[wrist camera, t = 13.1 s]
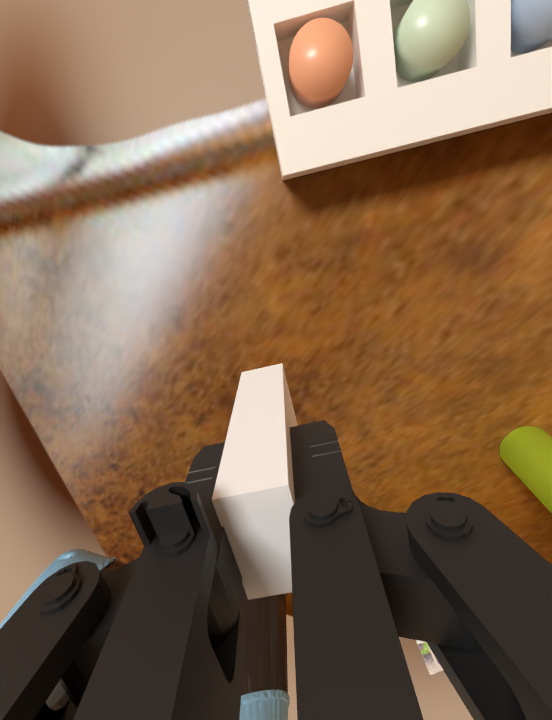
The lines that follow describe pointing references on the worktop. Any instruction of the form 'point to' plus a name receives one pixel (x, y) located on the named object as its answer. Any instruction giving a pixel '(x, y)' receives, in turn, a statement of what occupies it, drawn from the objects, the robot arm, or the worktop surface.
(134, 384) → the worktop surface
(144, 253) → the worktop surface
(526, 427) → the soap dispenser
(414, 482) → the worktop surface
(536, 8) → the blue button
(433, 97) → the button panel
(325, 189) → the worktop surface
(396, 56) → the green button
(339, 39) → the terracotta button
